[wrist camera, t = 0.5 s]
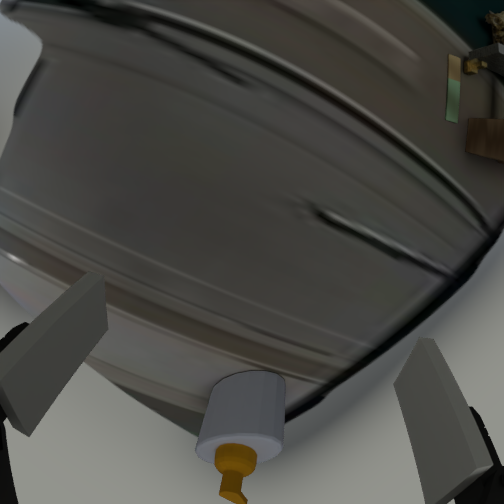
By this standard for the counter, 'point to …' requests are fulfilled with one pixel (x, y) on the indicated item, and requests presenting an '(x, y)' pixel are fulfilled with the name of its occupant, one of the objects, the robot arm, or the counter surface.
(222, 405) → the soap bottle
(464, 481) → the robot arm
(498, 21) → the mushroom
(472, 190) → the counter surface
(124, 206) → the counter surface
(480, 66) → the telltale
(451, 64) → the base
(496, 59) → the plate
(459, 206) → the counter surface
